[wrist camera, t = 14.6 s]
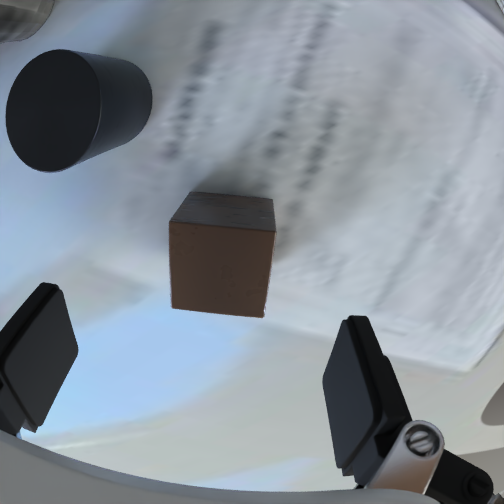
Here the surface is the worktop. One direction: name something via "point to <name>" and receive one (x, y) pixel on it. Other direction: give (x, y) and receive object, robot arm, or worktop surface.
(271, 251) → the walnut block
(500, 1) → the lidded bowl
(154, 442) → the worktop surface
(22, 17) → the beverage cup
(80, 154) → the black cylinder
